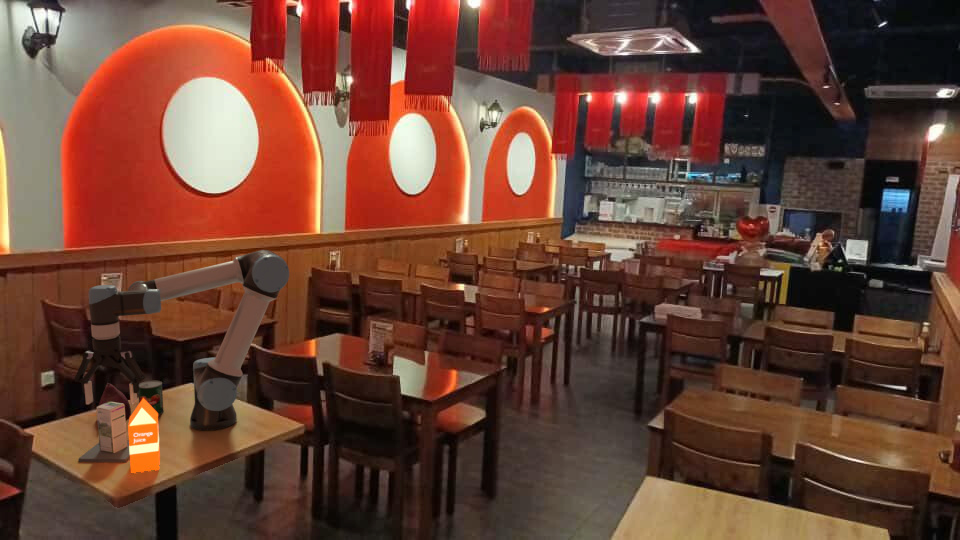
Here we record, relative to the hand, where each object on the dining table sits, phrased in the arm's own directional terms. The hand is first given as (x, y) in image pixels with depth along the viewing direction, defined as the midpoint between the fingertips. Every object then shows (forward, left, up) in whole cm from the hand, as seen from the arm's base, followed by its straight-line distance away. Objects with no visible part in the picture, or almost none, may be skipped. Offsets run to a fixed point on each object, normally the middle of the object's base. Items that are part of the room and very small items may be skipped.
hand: (111, 403), depth 211 cm
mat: (0, 0, -16) cm, 16 cm away
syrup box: (0, 0, -15) cm, 15 cm away
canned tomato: (+3, -33, -16) cm, 37 cm away
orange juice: (-14, +9, -16) cm, 23 cm away
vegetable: (+14, -29, -16) cm, 36 cm away
